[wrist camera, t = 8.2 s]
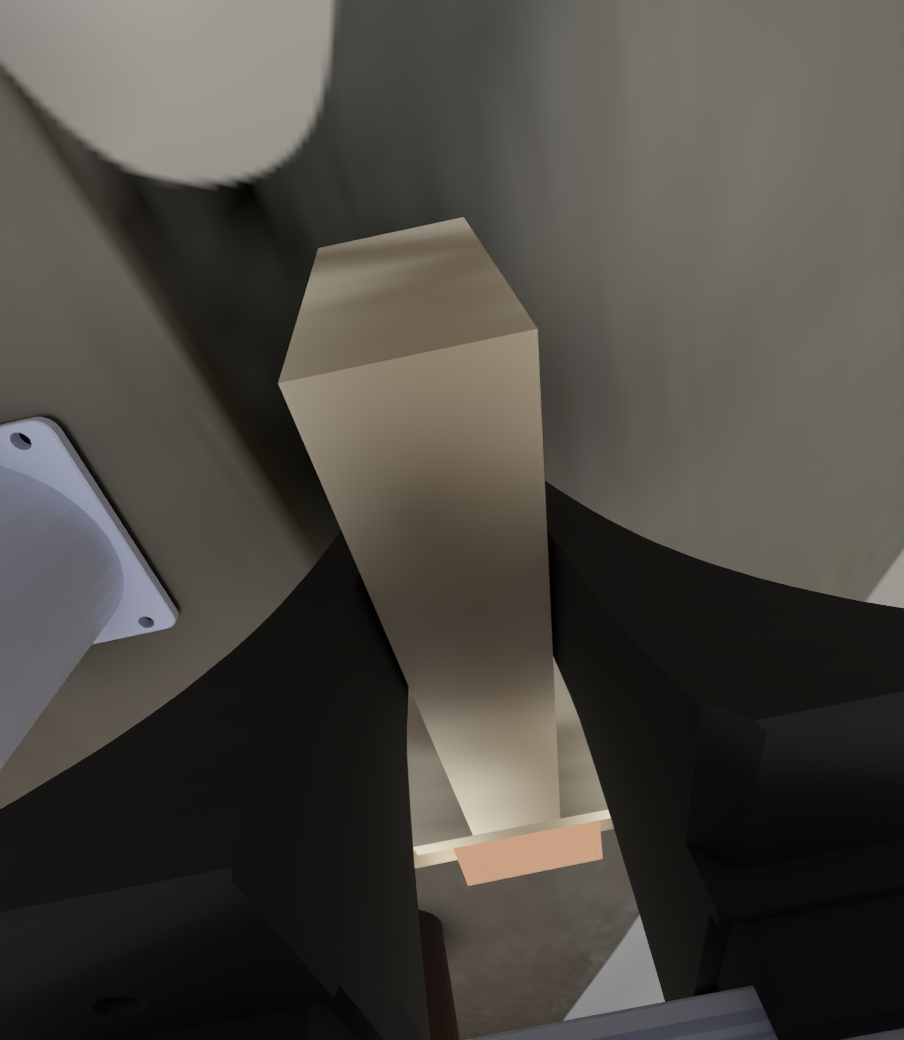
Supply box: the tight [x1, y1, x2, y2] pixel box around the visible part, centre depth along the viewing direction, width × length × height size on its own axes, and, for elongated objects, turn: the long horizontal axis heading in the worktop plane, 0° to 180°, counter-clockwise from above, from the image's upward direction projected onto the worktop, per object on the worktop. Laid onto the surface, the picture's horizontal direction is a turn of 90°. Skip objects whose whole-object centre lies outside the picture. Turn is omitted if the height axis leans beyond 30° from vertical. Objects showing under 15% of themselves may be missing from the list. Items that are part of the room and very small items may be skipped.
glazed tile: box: [454, 820, 603, 886], centre depth 24 cm, size 7×2×9 cm
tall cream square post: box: [278, 217, 611, 855], centre depth 12 cm, size 6×15×5 cm, turn 11°
